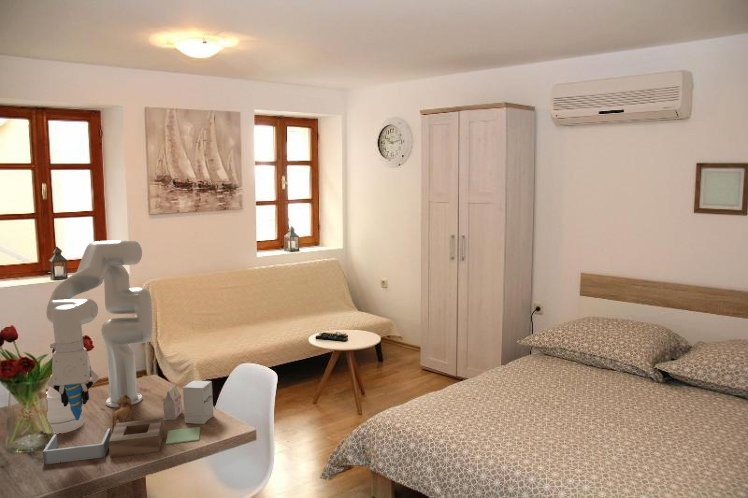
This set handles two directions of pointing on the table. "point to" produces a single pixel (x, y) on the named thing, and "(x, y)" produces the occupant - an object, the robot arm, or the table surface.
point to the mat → (183, 435)
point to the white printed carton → (172, 404)
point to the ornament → (75, 399)
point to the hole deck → (136, 437)
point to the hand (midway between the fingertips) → (75, 403)
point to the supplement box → (198, 402)
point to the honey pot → (61, 414)
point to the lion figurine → (122, 410)
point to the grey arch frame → (75, 451)
